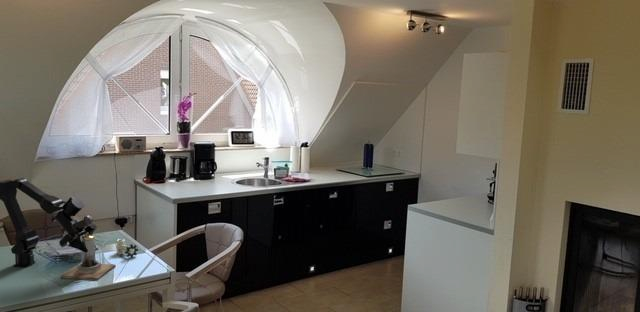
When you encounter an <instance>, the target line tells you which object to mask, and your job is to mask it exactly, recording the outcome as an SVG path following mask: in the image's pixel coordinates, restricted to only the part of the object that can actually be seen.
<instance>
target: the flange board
mask: <svg viewBox="0 0 640 312" xmlns="http://www.w3.org/2000/svg"><path fill="white" fill-rule="evenodd" d="M116 267H117V266H116V264H112V263H101V262H99V261H97V260H95V265H92V266H83V265H82V262H79V263H78V264H77V265H75V266H74V267H72V268H70V269H69V270H67V271H65V272H64V273H62V274H61V275H60V278H62V279H75V280H91V281H99V280H100V279H102V278H103V277H104V276H106V275H107V274H109V272H111V271H112V270H113V269H115V268H116Z"/></svg>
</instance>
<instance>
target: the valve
mask: <svg viewBox="0 0 640 312" xmlns="http://www.w3.org/2000/svg"><path fill="white" fill-rule="evenodd" d="M137 246H138V245H136V244H131V243H130V245H129V246H128V245H126V240H125V239H124V238H122V239H121V238H120V239H117V240H116V254H118V255H122V254H123V255H125V254H126V258H131V259H132V258H134V256H137V252H139V248H138V247H137Z"/></svg>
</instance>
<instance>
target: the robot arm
mask: <svg viewBox="0 0 640 312" xmlns="http://www.w3.org/2000/svg"><path fill="white" fill-rule="evenodd" d="M17 189H18V190H19V191H20V192H22V193H23V194H25V195H27V196H28V197H29V198H31V199H32V200H33V201H35V202H37V203H38V204H39V207H40V208H41V210H42V211H44V212H45V213H46V214H48V215H51V220H50V221H51V223H54V222H57V223H58V224H59V226H61V228H62V229H61V231H62V232H63V233H64V232H66V233H67V234H65V235H64V236H63V237H62V238H61V239H60V240H59V241H58V244H59V246H60V247H61V248H65V247H67V248H68V247H70V248H73V249H76V250H78V251H81V252H82V251H83V252H86V253H87V252H88V250H87V248H86V247H85V246H84V244H83V243H82V236H84V235H94V232H95V231H96V230H97V229H98V226H97V225H96V224H94V223H93V221H94V220H93V218H92V216H90V215H89V214H88V215H86V216H84V217H83V219H82V220H79V219H78V218H77V219H75V218H74V217H76V216H77V215H78V214H79V213H80V212H81V211H82V210H83V209H84V208H85V204H84V203H85V202H83V201H82V200H81V199H79V198H76V197H75V196H71V197H69V198H68V200H67V201H64V200H63V199H61V198H59V197H57V196H54V195H52V194H51V195H50V194H47V193H46V192H44V191H43V190H41V188H38V187H37V186H36V185H34V184H33V183H31V182H30V181H29V180H28V179H27V178H25V177H20V178H16V179H14V180H12V179H6V180H1V181H0V201H2V202H3V204H4V206H5V208H6V211H7V214H8V216H9V219H10V221H11V224H12V226H13V228H14V231H15V236H14V240H15V244H14V245H13V246H12V247H11V248H10V250H11V253H12V254H14V260H15V262H14V263H15V264H13V265H12V266H13V267H17V268H19V267H21V268H23V267H24V268H28V267H30V266H31V265H33V264H35V263H36V260H35V254H34V251H33V250H35V249H36V248H37V245H38V243H39V235H38V234H37V230H36V229H34V228H33V229H31V228H30V227H29V226H28V223H27V220H26V218H25V217H24V213H23V211H22V209H21V206H20V204H19V203H18V199H17V193H18V190H17ZM55 213H56V214H55ZM96 245H97V244H95V249H96V248H97V246H96Z"/></svg>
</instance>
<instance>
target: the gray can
mask: <svg viewBox="0 0 640 312" xmlns="http://www.w3.org/2000/svg"><path fill="white" fill-rule="evenodd" d="M95 237H96V235H94V234H93V235H84V236H81V242H82V243H83V244H84V246H85V247H86V248H87V250H88V252H87V253H86V252H83V251H81V263H82V265H83V266H92V265H95V261H96V248H95V245H96V238H95Z"/></svg>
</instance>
